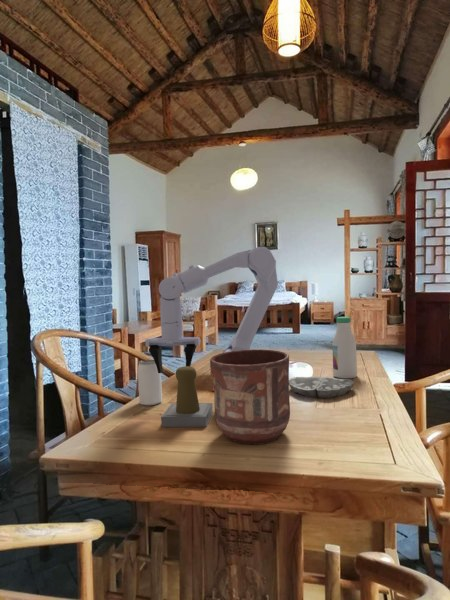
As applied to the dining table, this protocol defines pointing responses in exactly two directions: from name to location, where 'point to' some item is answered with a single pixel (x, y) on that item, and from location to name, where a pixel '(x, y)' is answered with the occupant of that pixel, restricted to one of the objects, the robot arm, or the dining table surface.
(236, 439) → the pottery
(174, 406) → the grey flat square block
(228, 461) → the dining table surface
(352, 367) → the milk bottle
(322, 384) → the brain slice
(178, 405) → the olive bowling pin
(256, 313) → the robot arm
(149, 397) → the can
